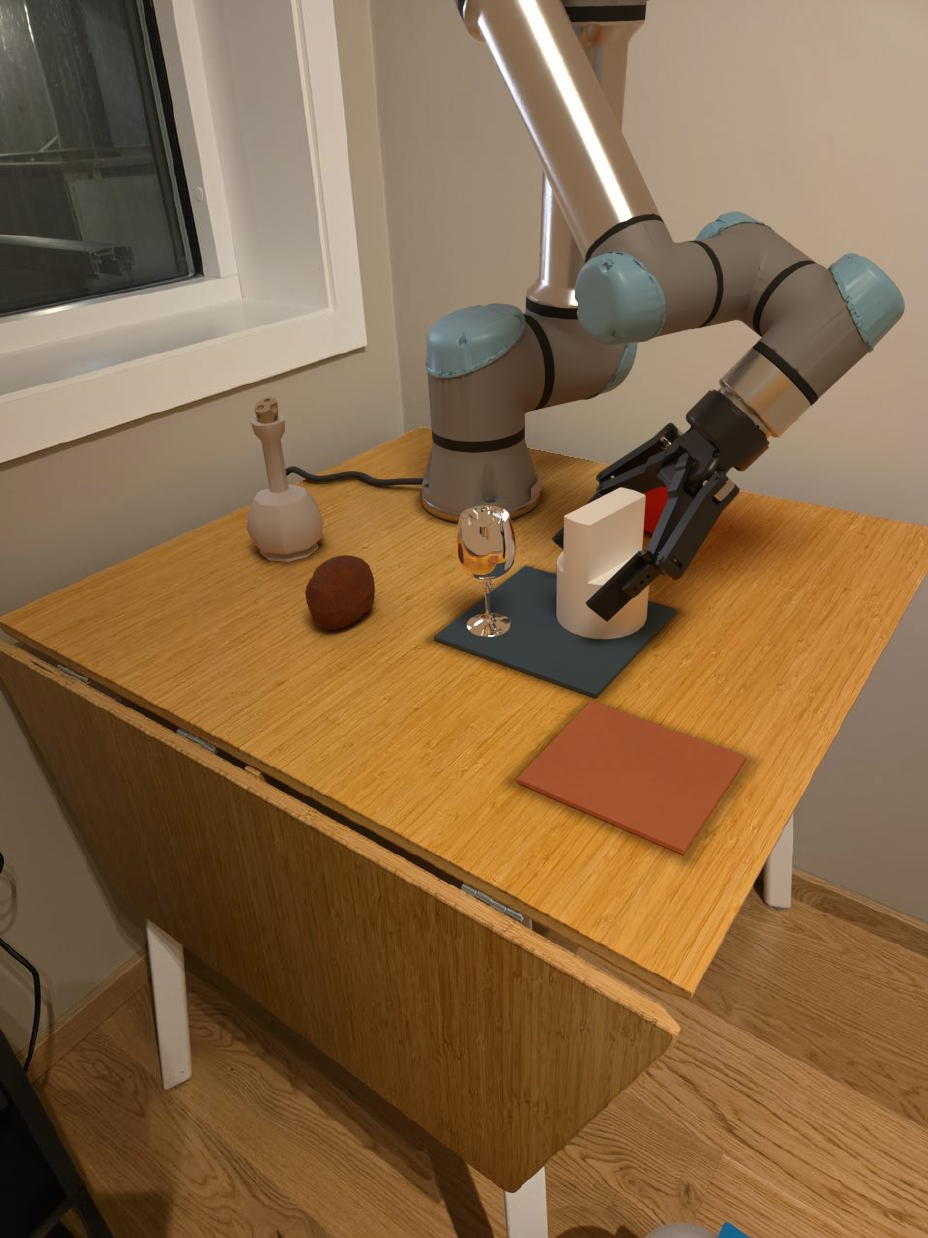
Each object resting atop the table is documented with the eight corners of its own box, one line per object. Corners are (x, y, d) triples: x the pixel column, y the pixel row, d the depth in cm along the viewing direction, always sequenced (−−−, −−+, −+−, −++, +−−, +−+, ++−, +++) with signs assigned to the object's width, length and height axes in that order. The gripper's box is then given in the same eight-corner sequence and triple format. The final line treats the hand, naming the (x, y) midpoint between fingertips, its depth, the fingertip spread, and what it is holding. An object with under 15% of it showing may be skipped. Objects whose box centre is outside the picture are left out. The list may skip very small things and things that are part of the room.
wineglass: (524, 614, 92) (523, 506, 85) (508, 644, 87) (505, 532, 81) (470, 606, 93) (465, 500, 87) (451, 636, 89) (444, 525, 82)
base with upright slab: (594, 583, 96) (597, 478, 90) (664, 612, 91) (673, 503, 84) (537, 616, 91) (537, 508, 85) (609, 649, 85) (614, 536, 79)
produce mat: (516, 783, 71) (516, 778, 71) (590, 704, 79) (590, 700, 79) (683, 855, 64) (684, 850, 64) (745, 761, 72) (746, 756, 72)
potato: (289, 628, 92) (279, 572, 89) (344, 587, 99) (337, 534, 96) (343, 645, 89) (336, 588, 86) (396, 601, 96) (391, 547, 92)
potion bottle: (339, 537, 109) (320, 392, 100) (298, 571, 103) (273, 418, 93) (279, 527, 113) (255, 385, 103) (236, 558, 106) (206, 409, 96)
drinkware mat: (434, 640, 89) (433, 636, 89) (525, 569, 101) (525, 565, 100) (596, 698, 80) (596, 694, 80) (676, 612, 91) (676, 608, 91)
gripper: (834, 492, 73) (642, 667, 80) (716, 397, 94) (572, 542, 100) (781, 435, 70) (585, 623, 76) (671, 350, 91) (525, 504, 97)
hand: (577, 578), depth 88 cm, fingers open, 12 cm apart
